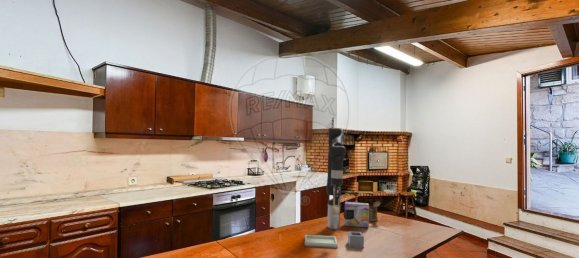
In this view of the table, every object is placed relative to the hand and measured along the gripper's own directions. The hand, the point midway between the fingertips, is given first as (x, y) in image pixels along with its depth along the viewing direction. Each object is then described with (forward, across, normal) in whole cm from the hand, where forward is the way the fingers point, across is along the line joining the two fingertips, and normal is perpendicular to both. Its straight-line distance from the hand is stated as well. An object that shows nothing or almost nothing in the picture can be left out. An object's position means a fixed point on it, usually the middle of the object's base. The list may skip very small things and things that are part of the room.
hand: (336, 203), depth 188 cm
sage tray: (+25, 0, -9) cm, 27 cm away
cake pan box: (+26, -42, +21) cm, 54 cm away
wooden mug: (+26, -59, +38) cm, 75 cm away
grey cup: (+25, 0, +13) cm, 28 cm away
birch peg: (+8, 0, 0) cm, 8 cm away
